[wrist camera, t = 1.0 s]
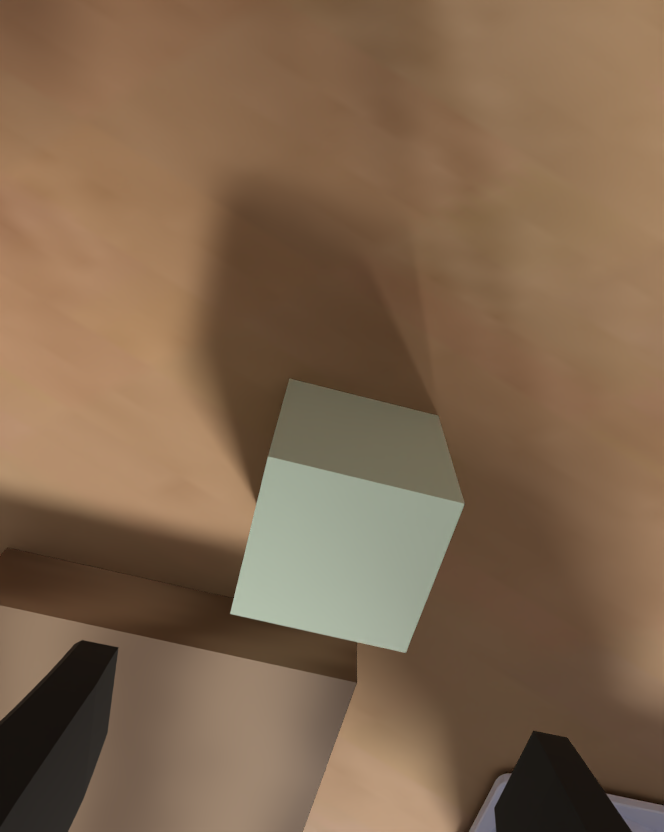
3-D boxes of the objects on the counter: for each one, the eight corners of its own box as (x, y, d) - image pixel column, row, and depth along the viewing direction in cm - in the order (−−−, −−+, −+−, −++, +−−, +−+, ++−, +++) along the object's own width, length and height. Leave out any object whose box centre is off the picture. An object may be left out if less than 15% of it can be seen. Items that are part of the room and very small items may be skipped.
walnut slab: (356, 616, 22) (356, 682, 20) (282, 830, 27) (274, 909, 24) (14, 539, 22) (-36, 597, 19) (-1, 774, 26) (-43, 849, 24)
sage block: (438, 414, 19) (464, 503, 14) (394, 538, 21) (405, 652, 16) (289, 377, 18) (267, 456, 14) (258, 506, 20) (229, 613, 16)
